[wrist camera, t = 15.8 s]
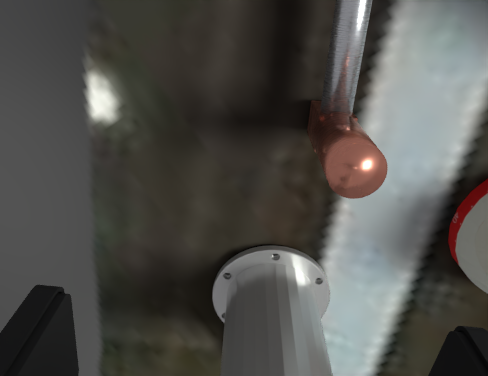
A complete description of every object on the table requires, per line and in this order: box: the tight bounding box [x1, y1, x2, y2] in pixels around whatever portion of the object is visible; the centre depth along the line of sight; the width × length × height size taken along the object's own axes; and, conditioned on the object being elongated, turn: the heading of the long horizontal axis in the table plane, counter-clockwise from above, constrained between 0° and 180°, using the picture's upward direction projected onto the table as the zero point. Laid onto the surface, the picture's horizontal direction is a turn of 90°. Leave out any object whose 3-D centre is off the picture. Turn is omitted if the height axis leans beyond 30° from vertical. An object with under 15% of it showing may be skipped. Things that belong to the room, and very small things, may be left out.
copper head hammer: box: [307, 0, 387, 198], centre depth 26 cm, size 19×4×12 cm, turn 177°
